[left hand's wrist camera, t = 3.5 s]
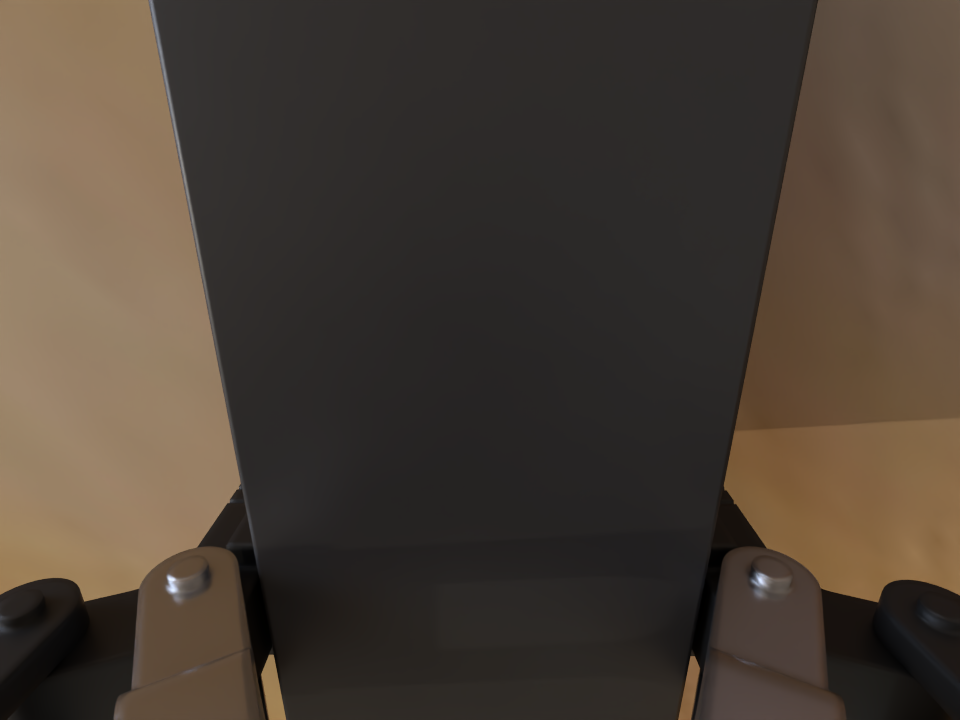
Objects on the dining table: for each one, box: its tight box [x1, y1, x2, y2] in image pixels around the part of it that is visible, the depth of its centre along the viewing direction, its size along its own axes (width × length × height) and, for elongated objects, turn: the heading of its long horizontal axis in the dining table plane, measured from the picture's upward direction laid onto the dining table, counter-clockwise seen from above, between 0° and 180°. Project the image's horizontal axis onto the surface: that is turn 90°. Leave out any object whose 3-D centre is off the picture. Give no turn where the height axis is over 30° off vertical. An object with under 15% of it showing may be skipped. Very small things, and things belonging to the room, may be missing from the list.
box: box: [149, 0, 818, 720], centre depth 10 cm, size 21×6×10 cm, turn 0°
